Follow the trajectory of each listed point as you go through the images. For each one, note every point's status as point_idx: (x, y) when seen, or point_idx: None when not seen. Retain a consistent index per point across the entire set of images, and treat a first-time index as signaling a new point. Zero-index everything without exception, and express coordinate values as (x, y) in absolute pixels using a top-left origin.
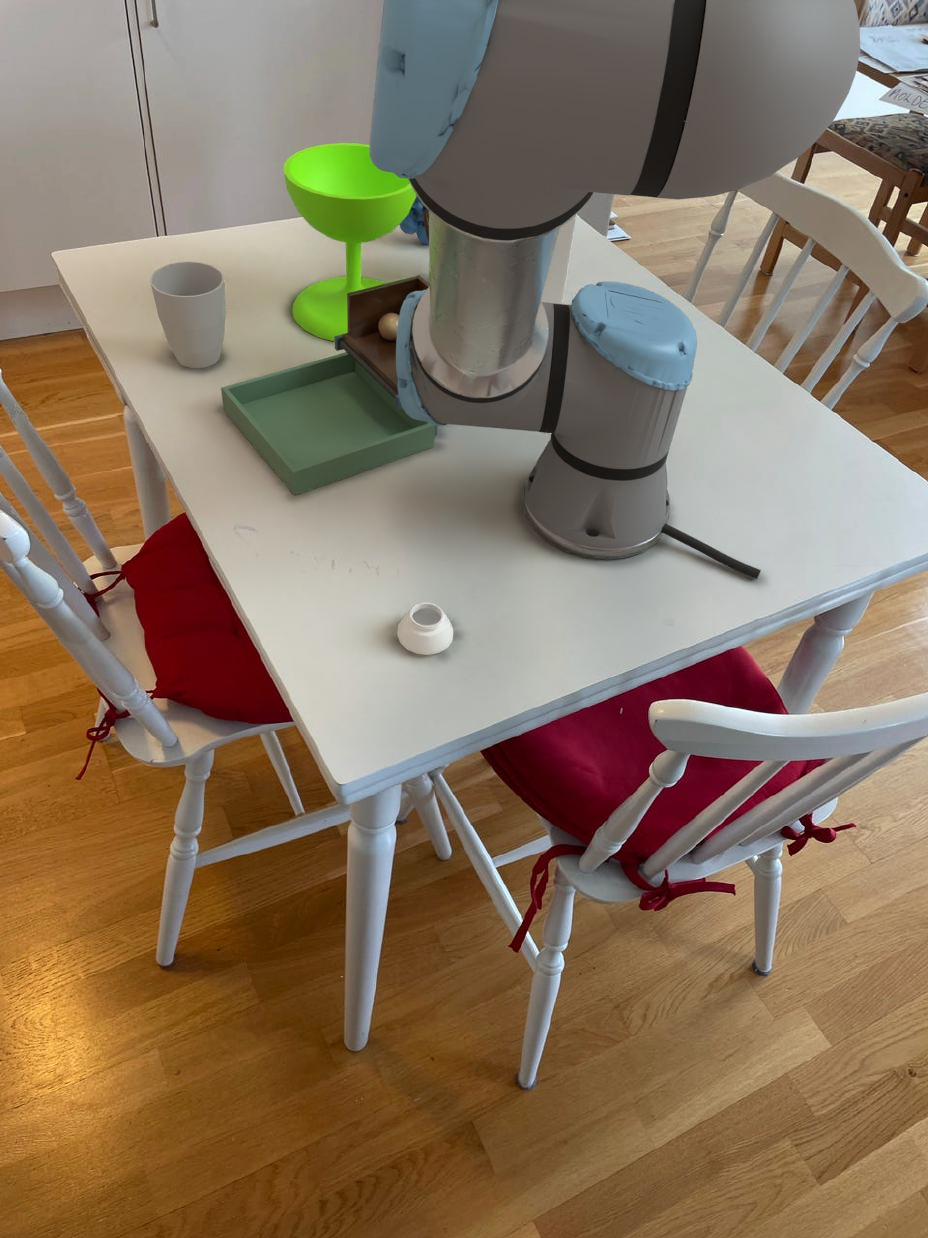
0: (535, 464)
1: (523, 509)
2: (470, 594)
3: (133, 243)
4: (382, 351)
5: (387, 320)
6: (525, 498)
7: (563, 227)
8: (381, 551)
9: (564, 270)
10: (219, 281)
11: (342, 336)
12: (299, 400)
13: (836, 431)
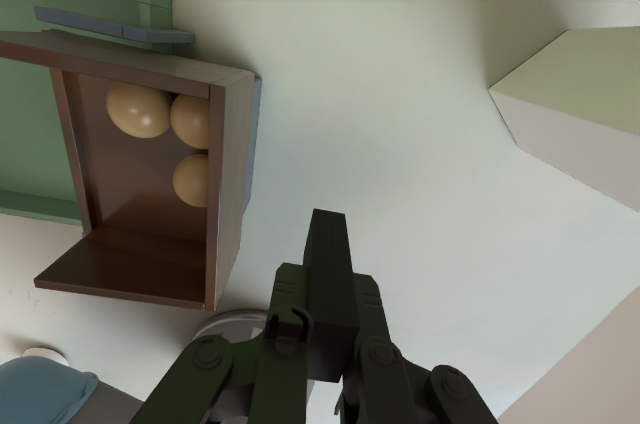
0: (223, 334)
1: (198, 328)
2: (103, 352)
3: None
4: (116, 127)
5: (112, 116)
6: (195, 338)
7: None
8: (48, 291)
9: (606, 193)
10: None
11: (52, 21)
12: (26, 17)
13: (509, 399)
